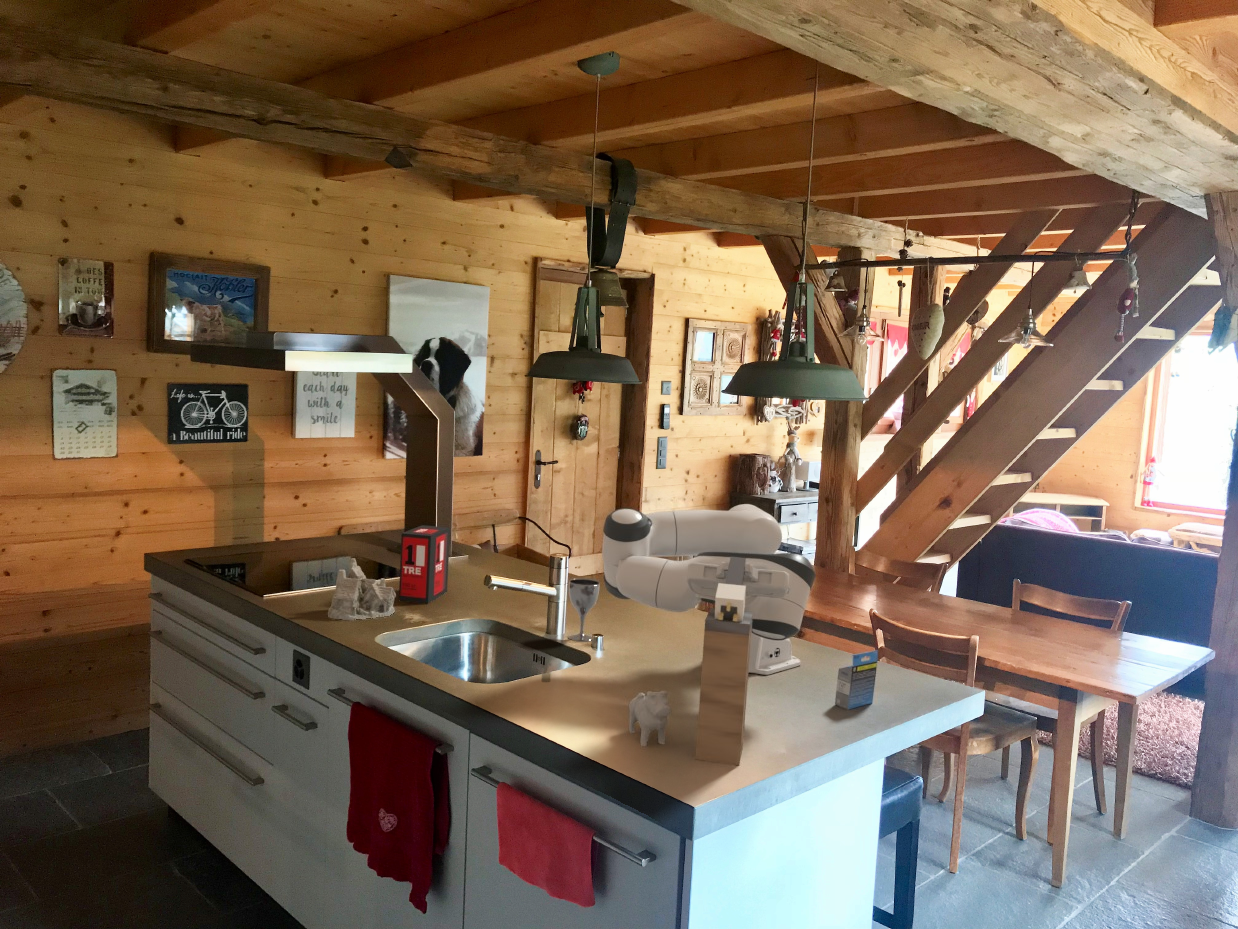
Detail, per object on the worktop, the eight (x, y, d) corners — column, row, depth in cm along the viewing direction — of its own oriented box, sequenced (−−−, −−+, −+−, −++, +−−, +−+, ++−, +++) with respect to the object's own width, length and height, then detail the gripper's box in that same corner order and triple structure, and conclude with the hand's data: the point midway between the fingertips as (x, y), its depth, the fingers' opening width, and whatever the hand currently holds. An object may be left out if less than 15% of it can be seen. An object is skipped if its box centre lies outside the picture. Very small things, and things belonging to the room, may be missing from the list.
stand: (700, 741, 182) (710, 608, 180) (742, 747, 181) (752, 612, 178) (695, 759, 173) (705, 619, 171) (739, 765, 172) (750, 624, 170)
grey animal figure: (648, 754, 175) (652, 698, 174) (624, 728, 187) (627, 676, 186) (675, 751, 177) (679, 696, 176) (649, 726, 188) (652, 674, 187)
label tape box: (859, 698, 214) (863, 645, 213) (874, 704, 211) (879, 649, 210) (834, 705, 208) (838, 650, 207) (849, 710, 205) (853, 655, 204)
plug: (724, 569, 188) (725, 549, 186) (750, 571, 187) (751, 551, 185) (713, 623, 171) (714, 601, 169) (741, 626, 170) (742, 604, 168)
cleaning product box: (419, 589, 293) (422, 525, 291) (447, 592, 292) (450, 527, 290) (398, 601, 277) (401, 533, 275) (428, 604, 275) (431, 535, 274)
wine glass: (596, 634, 254) (599, 579, 252) (596, 642, 246) (599, 585, 244) (566, 633, 253) (569, 577, 252) (565, 641, 246) (569, 584, 244)
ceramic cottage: (318, 616, 254) (324, 561, 253) (352, 606, 270) (358, 554, 269) (369, 628, 250) (376, 572, 249) (400, 616, 266) (407, 563, 265)
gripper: (788, 609, 193) (789, 587, 181) (688, 599, 197) (683, 577, 185) (790, 579, 196) (792, 556, 183) (692, 570, 200) (687, 546, 187)
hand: (736, 566), depth 184 cm, fingers closed on plug, 3 cm apart
